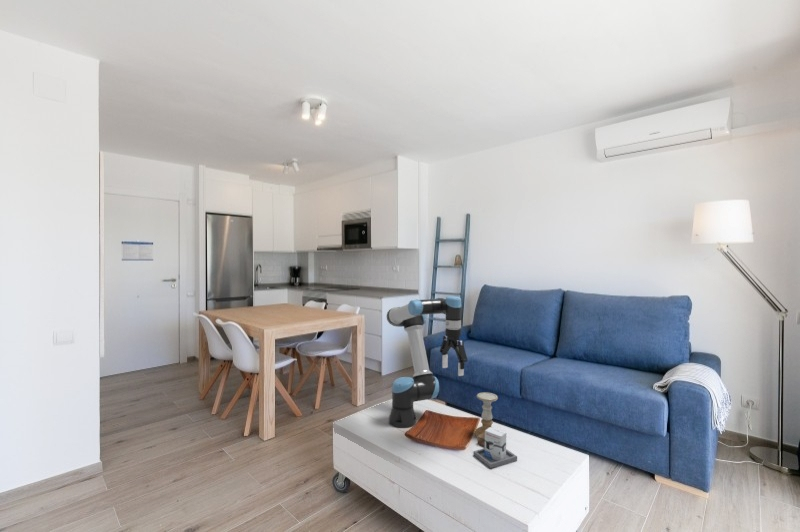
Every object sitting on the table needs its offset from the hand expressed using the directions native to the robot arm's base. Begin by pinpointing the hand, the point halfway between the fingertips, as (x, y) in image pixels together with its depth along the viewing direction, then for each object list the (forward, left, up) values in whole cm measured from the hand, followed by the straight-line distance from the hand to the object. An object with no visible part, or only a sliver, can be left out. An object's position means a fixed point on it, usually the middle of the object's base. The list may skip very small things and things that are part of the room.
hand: (452, 371), depth 182 cm
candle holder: (+2, +20, -35) cm, 40 cm away
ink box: (+21, +9, -34) cm, 41 cm away
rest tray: (+21, +9, -35) cm, 42 cm away
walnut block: (+9, +13, -35) cm, 38 cm away
